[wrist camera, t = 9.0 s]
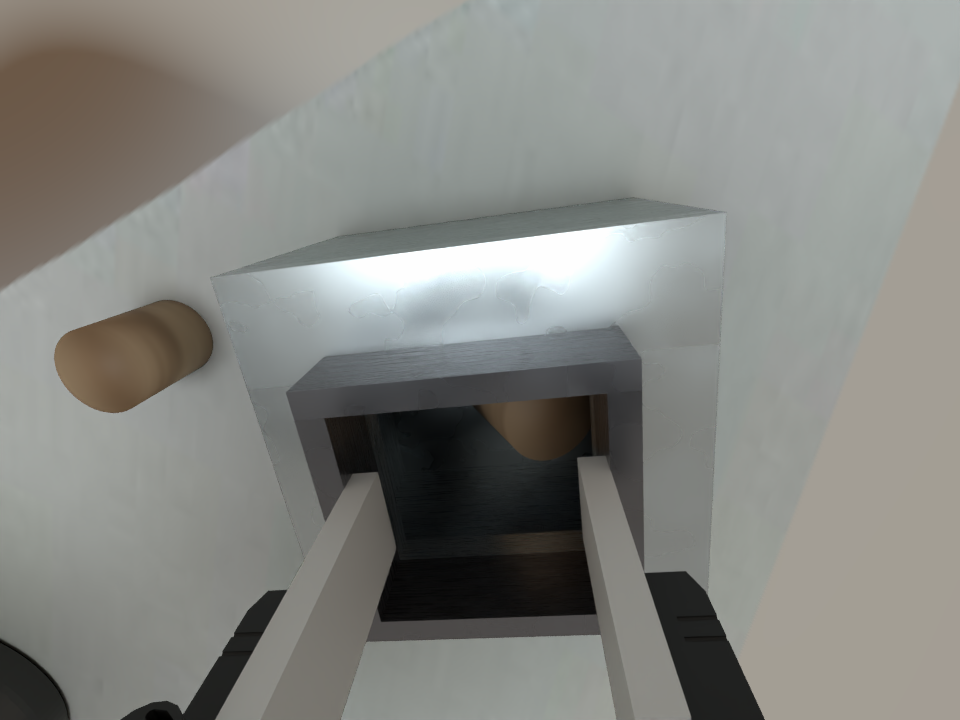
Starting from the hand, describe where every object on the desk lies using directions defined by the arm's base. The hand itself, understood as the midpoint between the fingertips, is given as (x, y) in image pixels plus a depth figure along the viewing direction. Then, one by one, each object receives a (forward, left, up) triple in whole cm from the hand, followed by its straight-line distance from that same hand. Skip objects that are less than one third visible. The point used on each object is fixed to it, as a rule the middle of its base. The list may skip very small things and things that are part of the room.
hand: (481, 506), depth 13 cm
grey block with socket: (0, 0, -12) cm, 12 cm away
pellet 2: (0, 0, -10) cm, 10 cm away
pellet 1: (-17, +3, -12) cm, 21 cm away
